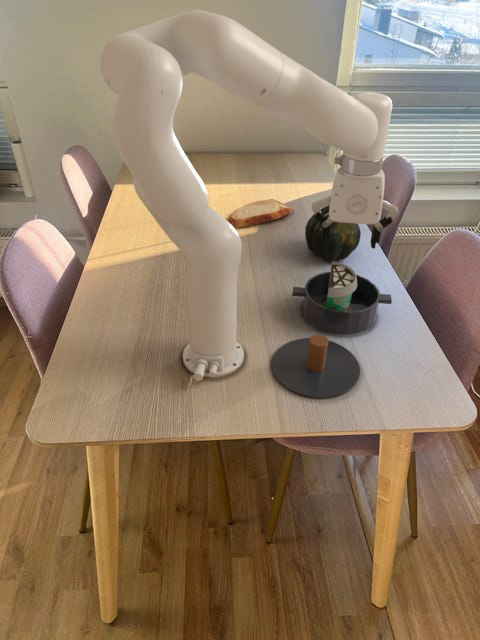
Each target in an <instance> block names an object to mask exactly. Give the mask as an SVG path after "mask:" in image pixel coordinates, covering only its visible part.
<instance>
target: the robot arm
mask: <svg viewBox="0 0 480 640" xmlns="http://www.w3.org/2000/svg"><path fill="white" fill-rule="evenodd" d="M99 68H100V73H101V76H102V78H103V81H104V82H105V84H106V86H107V87H108V88H109V89H110V90H111V91H112V92H113V93H114V94H115V95H117V96H118V97H117V100H116V104H115V106H114V112H113V119H112V135H113V141H114V145H115V148H116V150H117V152H118V154H119V156H120V158H121V159H122V161H123V163H124V164H125V166H126V167H127V169H128V171H129V172H130V173H131V175H132V183H133V188H134V190H135V192H136V193H135V194H136V195H137V197H138V198H139V200H140V201H141V203H142V204H143V205H144V207H145V208H146V210H147V211H148V212H149V213H150V215H151V216H152V217H153V218H154V220H155V221H156V223H157V224H158V226H159V227H160V228H161V230H162V231H163V232H164V233H165V235H166V236H167V237H168V239H170V241H171V242H172V243H173V244H174V245H175V247H177V248H178V249H179V251H180V252H181V253H182V254H183V255H184V256H185V258H186V260H187V263H188V272H187V275H186V279H185V297H186V310H187V325H188V341H189V342H188V343H187V344H186V346H185V347H184V348H183V352H182V361H183V364H184V366H185V367H186V369H187V370H188V371H189V372H191V373H192V374H193V375H192V377H193V380H194V381H197V382H202V381H203V379H204V377H208V378H215V377H216V378H217V377H224V376H227V375H230V374H231V373H233V372H236V371H237V370H238V369H239V368H240V367H241V366H242V364H243V362H244V359H245V352H244V348H243V346H242V345H241V344H240V343H239V342H238V341H237V330H238V329H237V326H238V325H237V317H238V316H237V313H238V311H237V310H238V309H237V305H238V304H237V303H238V302H237V301H238V295H237V293H238V287H237V286H238V273H239V267H240V263H241V258H242V254H243V245H242V239H241V237H240V234H239V233H238V231H237V229H236V228H234V227H233V226H232V225H231V224H230V223H229V220H227V219H226V218H224V217H223V216H222V215H221V214H220V213H218V212H217V211H215V210H214V208H212V206H210V205H209V200H210V199H209V193H208V190H207V187H206V185H205V182H204V181H203V179H202V178H201V176H200V175H199V174H198V172H197V171H196V169H195V167H194V166H193V164H192V162H191V161H190V159H189V158H188V156H187V154H186V152H185V151H184V150H183V148H182V146H181V144H180V142H179V140H178V138H177V136H176V133H175V131H174V116H175V113H176V109H177V107H178V104H179V102H180V100H181V96H182V92H183V86H184V85H183V83H184V80H183V77H184V76H187V75H188V74H191V73H192V74H193V73H194V74H196V75H198V76H200V77H203V78H204V79H205V80H208V81H209V82H211V83H212V84H215V85H216V86H218V87H220V88H222V89H224V90H225V91H227V92H229V93H231V94H232V95H234V96H236V97H238V98H240V99H241V100H243V101H245V102H246V103H248V104H250V105H252V106H254V107H255V108H257V109H259V110H260V111H262V112H264V113H266V114H269V115H270V116H272V117H274V118H276V119H277V120H280V121H282V122H285V123H288V124H290V125H293V126H296V127H299V128H301V129H302V130H304V131H306V132H308V134H309V135H310V136H312V137H313V138H315V139H316V140H319V141H320V142H323V143H324V144H327V145H330V146H332V147H334V148H336V149H338V150H339V151H342V154H340V155H338V156H334V159H333V164H334V165H339V167H337V170H336V173H335V175H334V180H333V183H332V188H331V193H330V195H328V196H326V197H324V198H321V199H319V200H316V201H313V202H312V203H311V210H312V212H313V215H314V214H315V216H316V219H317V220H318V221H319V222H320V223H321V224H322V226H323V231H322V239H325V245H328V242H329V234H330V224H331V223H332V222H333V221H335V222H341V223H355V224H358V225H373V226H372V230H371V237H370V248H371V249H374V250H375V249H376V244H379V243H380V238H381V234H382V232H383V231H384V229H385V228H387V227H388V226H390V225H391V224H392V223H393V221H394V220H395V219H396V218H397V216H398V215H399V213H400V211H399V208H398V207H397V206H395V205H394V204H392V203H390V202H388V201H387V200H384V196H385V186H386V184H385V181H386V180H385V179H386V178H385V172H384V170H382V166H383V161H384V155H385V151H386V143H387V139H388V132H389V127H390V121H391V115H392V110H393V102H392V99H391V98H390V97H389V96H387V95H385V94H382V93H377V92H362V93H357V94H355V95H350V94H349V93H347V92H346V91H344V90H342V89H341V88H339V87H337V86H335V85H334V84H332V83H331V82H329V81H327V80H326V79H324V78H322V77H321V76H319V75H318V74H316V73H314V72H313V71H312V70H310V69H309V68H307V67H305V66H304V65H303V64H300V63H298V62H297V61H295V60H294V59H293V58H291V57H289V56H287V55H286V54H285V53H283V52H282V51H280V50H278V49H277V48H276V47H274V46H273V45H271V44H269V42H267V41H265V40H264V39H263V38H261V37H260V36H258V35H257V34H255V33H254V32H253V31H251V30H250V29H248V28H246V27H245V26H244V25H242V24H241V23H239V22H238V21H237V20H234V19H232V18H230V17H228V16H226V15H223V14H219V13H214V12H211V11H207V10H203V9H192V10H188V11H183V12H181V13H177V14H174V15H172V16H169V17H165V18H162V19H160V20H157V21H154V22H151V23H148V24H145V25H141V26H139V27H136V28H132V29H130V30H126V31H123V32H122V33H119V34H117V35H115V36H114V37H112V38H111V39H110V40H109V41H108V42H107V43H106V44H105V46H104V47H103V49H102V52H101V55H100V60H99ZM328 205H329V213H327V214H326V215H324V214H323V213H322V212H321V211H320V209H322V208H324V207H326V206H328ZM382 210H384V211H386V212H388V214H387V215H386V216H384V217H383V218H381V217H382Z"/></svg>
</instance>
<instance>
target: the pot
mask: <svg viewBox="0 0 480 640" xmlns="http://www.w3.org/2000/svg"><path fill="white" fill-rule="evenodd" d="M330 272H331V271H325V272H322V273H317V274H316V275H313V276H312V277H310V278H309V279H308V280H307V281H306V283H305V285H304V287H301V286H293V287H292V295H291V296H292V297H302V298H303V304H302V313H303V316H304V318H305V320H307V322H308V323H309V324H311V325H312V326H313V327H315V328H316V329H319V330H321V331H324V332H327V333H330V334H335V335H353V334H359V333H362V332H364V331H367V330H369V328H371V327H373V325H374V324H375V321H376V319H377V314H378V310H379V306H380V305H379V304H385V305H392V302H393V299H392V294H388V293H387V294H386V293H380V289H378V287H377V285H376V284H375V283H373V282H372V281H371V280H369V278H366V277H364V276H362V275H359V274H356V277H357V288H356V290H355V291H354V292H353V293H352V296H351V300H350V304H349V305H364V306H368V307H365V308H363V309H359V310H351V311H348V312H347V311H337V310H333V309H329V308H326V306H324V305H322V304H320V303H318V302H327V295H328V287H329V280H330Z"/></svg>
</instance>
